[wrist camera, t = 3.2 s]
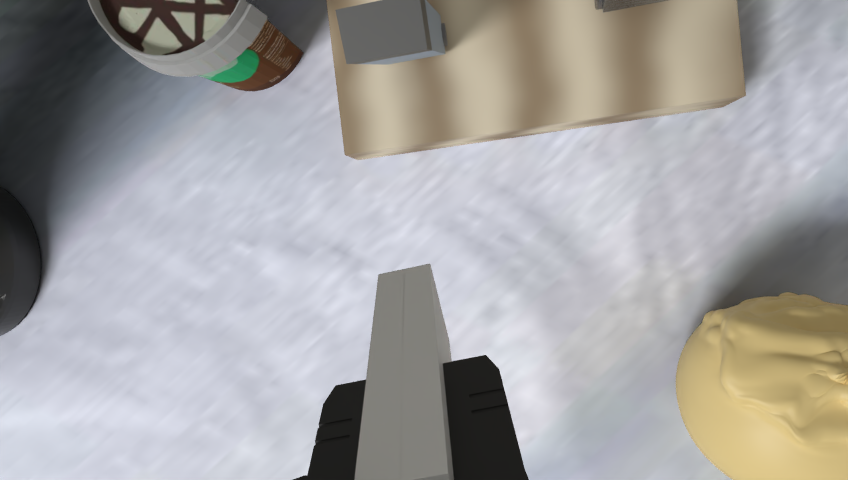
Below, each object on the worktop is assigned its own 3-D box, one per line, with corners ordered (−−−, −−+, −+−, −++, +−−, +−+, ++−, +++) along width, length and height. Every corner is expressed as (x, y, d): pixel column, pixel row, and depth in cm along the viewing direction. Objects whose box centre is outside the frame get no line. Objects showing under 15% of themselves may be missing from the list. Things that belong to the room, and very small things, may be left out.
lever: (387, 65, 32) (342, 64, 22) (380, 28, 31) (331, 10, 21) (449, 53, 31) (431, 48, 21) (444, 15, 30) (423, -9, 21)
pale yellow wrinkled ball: (854, 292, 30) (1044, 333, 20) (826, 466, 31) (994, 596, 20) (669, 272, 32) (750, 299, 22) (647, 436, 33) (716, 541, 22)
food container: (163, 68, 38) (45, 16, 28) (192, -2, 37) (80, -80, 28) (287, 132, 37) (207, 100, 27) (319, 60, 36) (249, 1, 26)
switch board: (358, 160, 36) (343, 154, 32) (336, -22, 35) (319, -46, 32) (722, 107, 31) (748, 94, 28) (703, -103, 31) (726, -141, 27)
